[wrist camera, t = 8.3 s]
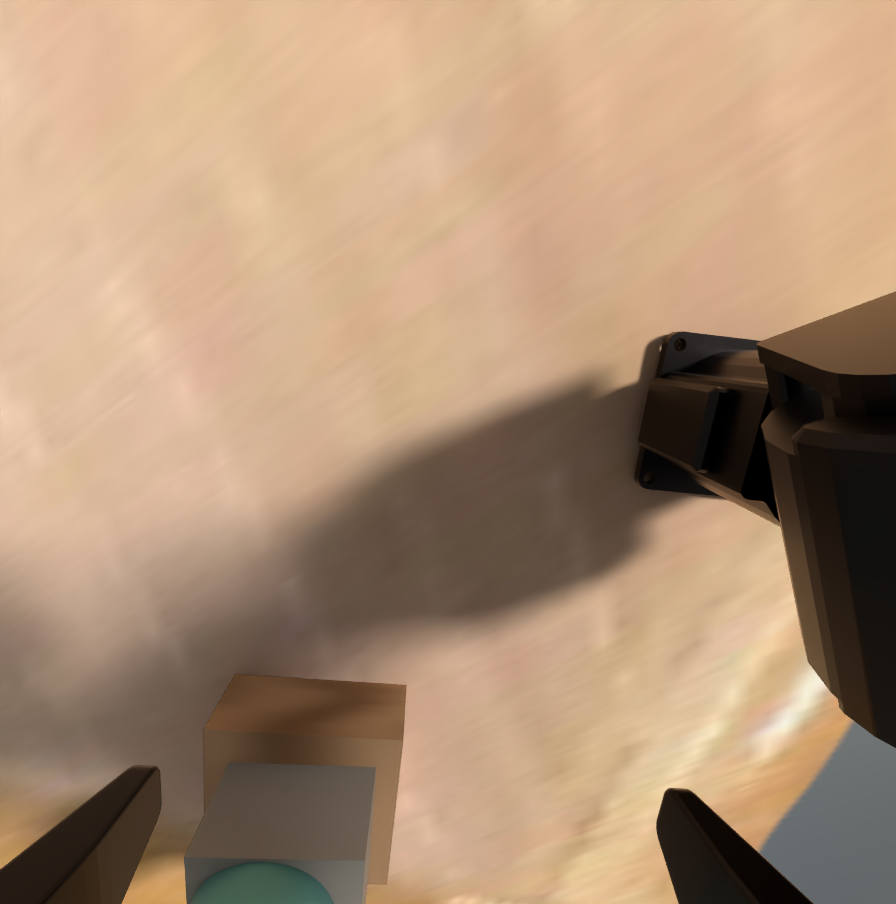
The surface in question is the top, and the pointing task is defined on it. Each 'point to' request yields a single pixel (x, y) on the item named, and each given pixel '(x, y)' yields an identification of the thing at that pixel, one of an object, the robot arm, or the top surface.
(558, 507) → the top surface
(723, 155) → the top surface
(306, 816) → the grey square block
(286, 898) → the teal bullet block
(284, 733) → the walnut base block
